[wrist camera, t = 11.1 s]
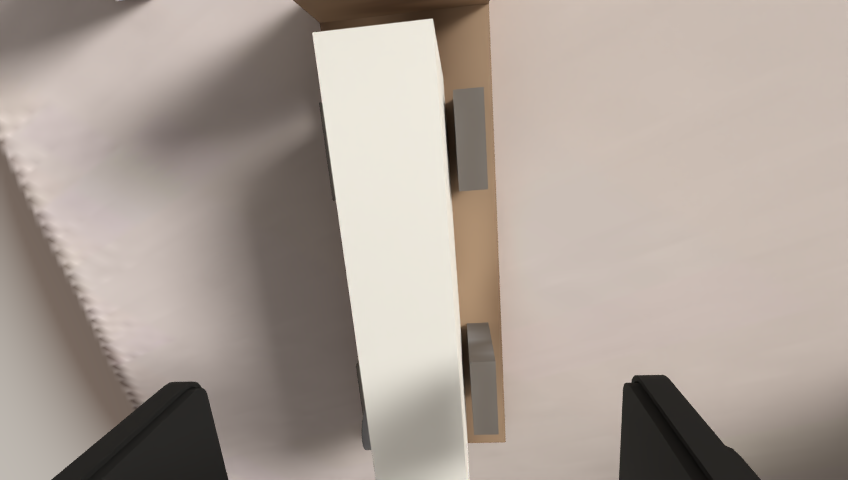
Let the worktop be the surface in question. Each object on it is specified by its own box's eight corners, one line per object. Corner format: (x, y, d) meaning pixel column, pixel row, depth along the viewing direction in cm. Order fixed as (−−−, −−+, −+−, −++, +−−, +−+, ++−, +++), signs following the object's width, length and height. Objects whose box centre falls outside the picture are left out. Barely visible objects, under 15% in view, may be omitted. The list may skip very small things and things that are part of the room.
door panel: (443, 77, 19) (432, 18, 10) (465, 400, 24) (473, 582, 14) (362, 85, 20) (273, 37, 10) (399, 402, 24) (362, 580, 14)
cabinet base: (484, -33, 19) (557, -429, 6) (502, 425, 26) (557, 746, 12) (323, -13, 20) (52, -325, 6) (380, 427, 26) (303, 733, 13)
